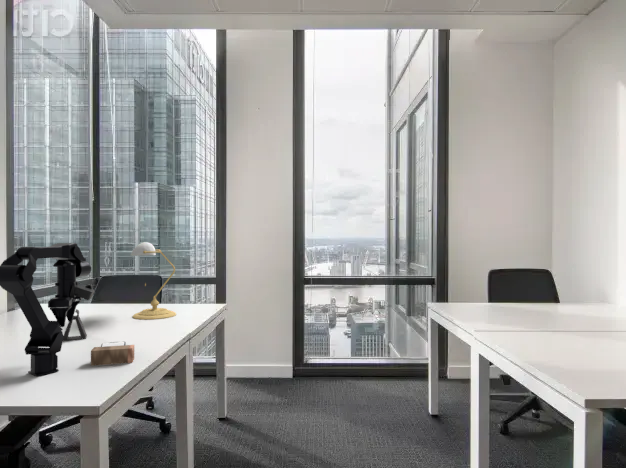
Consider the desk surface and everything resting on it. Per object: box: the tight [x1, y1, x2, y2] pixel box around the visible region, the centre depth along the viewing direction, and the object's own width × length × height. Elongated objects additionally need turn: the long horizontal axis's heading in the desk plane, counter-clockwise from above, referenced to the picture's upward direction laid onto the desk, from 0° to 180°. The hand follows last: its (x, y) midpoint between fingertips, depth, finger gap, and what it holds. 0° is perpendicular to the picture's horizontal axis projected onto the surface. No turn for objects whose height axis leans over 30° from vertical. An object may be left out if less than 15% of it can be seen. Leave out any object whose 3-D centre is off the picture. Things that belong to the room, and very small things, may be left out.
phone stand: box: [63, 309, 88, 342], centre depth 183 cm, size 9×6×12 cm, turn 114°
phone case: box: [100, 341, 127, 347], centre depth 165 cm, size 9×2×16 cm
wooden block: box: [90, 344, 135, 367], centre depth 149 cm, size 5×5×13 cm
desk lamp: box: [129, 241, 177, 321], centre depth 235 cm, size 31×23×40 cm
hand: (66, 324), depth 150 cm, fingers open, 9 cm apart
